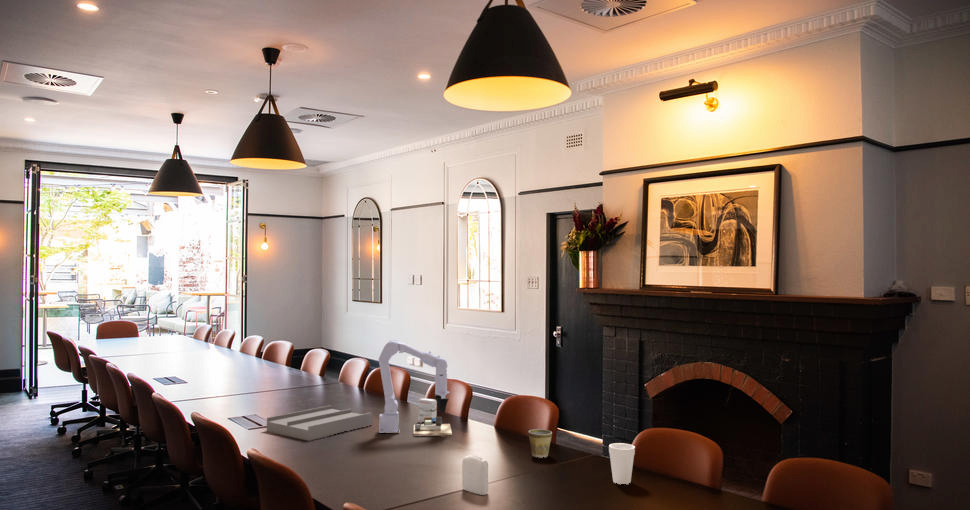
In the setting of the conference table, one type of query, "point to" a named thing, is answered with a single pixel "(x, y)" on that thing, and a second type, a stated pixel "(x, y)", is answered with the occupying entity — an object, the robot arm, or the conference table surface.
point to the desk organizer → (317, 422)
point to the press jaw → (427, 422)
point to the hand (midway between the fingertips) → (441, 411)
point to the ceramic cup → (540, 442)
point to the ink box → (427, 409)
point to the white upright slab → (475, 474)
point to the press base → (444, 430)
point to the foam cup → (621, 462)
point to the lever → (430, 427)
